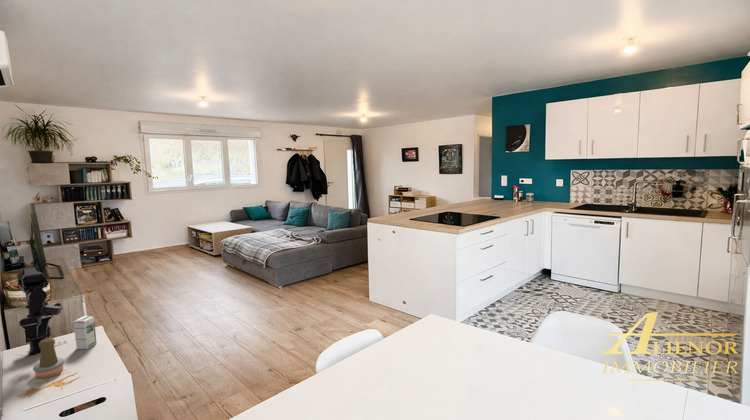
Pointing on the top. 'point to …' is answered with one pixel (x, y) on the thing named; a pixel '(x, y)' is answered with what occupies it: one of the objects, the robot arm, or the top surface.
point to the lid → (40, 369)
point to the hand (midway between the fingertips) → (40, 336)
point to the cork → (47, 353)
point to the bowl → (49, 372)
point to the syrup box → (85, 332)
